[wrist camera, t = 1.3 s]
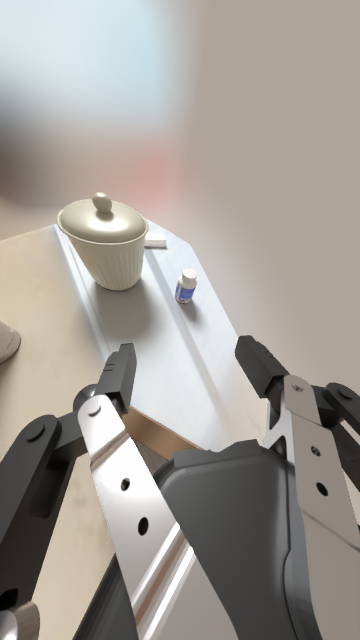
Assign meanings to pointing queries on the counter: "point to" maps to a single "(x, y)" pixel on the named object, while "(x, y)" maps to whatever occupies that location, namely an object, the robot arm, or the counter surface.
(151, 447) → the gate leaf
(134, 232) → the canister
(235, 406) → the counter surface
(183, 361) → the counter surface
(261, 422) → the counter surface
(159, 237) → the soap
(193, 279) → the pill bottle
